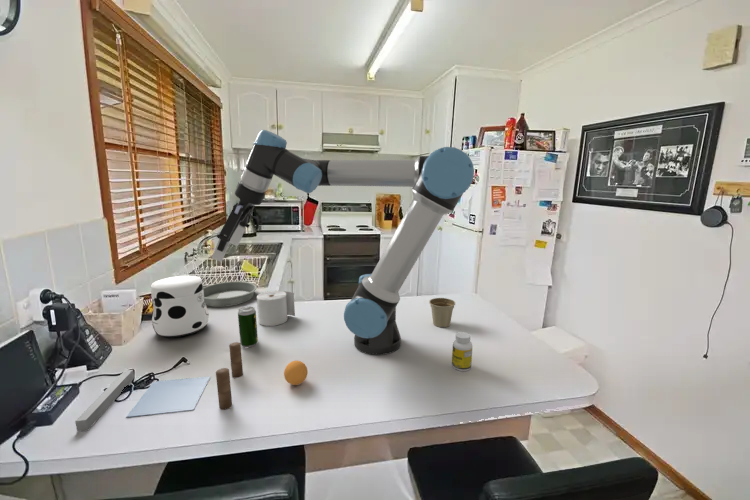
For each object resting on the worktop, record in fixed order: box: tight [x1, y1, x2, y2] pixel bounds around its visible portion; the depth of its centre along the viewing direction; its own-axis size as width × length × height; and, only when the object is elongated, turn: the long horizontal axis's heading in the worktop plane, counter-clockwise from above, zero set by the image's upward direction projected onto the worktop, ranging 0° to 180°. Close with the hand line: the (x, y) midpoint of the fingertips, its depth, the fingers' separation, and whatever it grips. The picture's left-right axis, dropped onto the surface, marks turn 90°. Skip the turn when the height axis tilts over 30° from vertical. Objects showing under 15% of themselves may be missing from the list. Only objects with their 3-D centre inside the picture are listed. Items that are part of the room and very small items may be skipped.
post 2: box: [228, 341, 244, 379], centre depth 93 cm, size 3×3×9 cm
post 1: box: [215, 367, 233, 411], centre depth 80 cm, size 3×3×9 cm
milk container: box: [150, 275, 210, 338], centre depth 120 cm, size 17×17×18 cm
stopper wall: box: [74, 369, 135, 432], centre depth 83 cm, size 2×20×2 cm, turn 10°
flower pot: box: [428, 297, 456, 328], centre depth 126 cm, size 9×9×9 cm
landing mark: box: [125, 376, 211, 418], centre depth 85 cm, size 14×14×1 cm
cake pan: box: [203, 281, 257, 308], centre depth 155 cm, size 25×25×4 cm
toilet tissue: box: [256, 290, 296, 327], centre depth 130 cm, size 11×12×10 cm
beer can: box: [237, 305, 259, 348], centre depth 111 cm, size 5×5×12 cm
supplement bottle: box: [451, 331, 473, 372], centre depth 97 cm, size 5×5×10 cm
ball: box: [283, 360, 309, 386], centre depth 90 cm, size 6×6×6 cm
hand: (225, 251), depth 101 cm, fingers open, 13 cm apart
